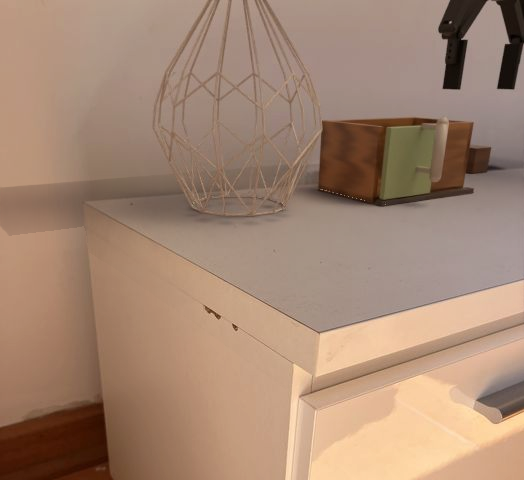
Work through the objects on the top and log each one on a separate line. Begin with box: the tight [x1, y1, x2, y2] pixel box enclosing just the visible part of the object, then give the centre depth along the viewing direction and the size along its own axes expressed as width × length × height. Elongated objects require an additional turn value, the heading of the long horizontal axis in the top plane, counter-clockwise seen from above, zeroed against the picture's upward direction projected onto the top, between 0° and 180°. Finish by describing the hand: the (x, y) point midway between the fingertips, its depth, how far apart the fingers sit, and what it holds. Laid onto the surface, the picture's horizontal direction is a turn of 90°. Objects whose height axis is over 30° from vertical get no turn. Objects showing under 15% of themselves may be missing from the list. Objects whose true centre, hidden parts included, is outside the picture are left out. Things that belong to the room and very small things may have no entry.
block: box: [465, 144, 492, 175], centre depth 96 cm, size 4×4×4 cm
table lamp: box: [152, 0, 323, 217], centre depth 60 cm, size 22×22×40 cm
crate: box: [317, 116, 475, 207], centre depth 77 cm, size 12×18×9 cm
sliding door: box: [379, 116, 450, 200], centre depth 69 cm, size 4×8×10 cm, turn 124°
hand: (479, 89), depth 89 cm, fingers open, 13 cm apart
